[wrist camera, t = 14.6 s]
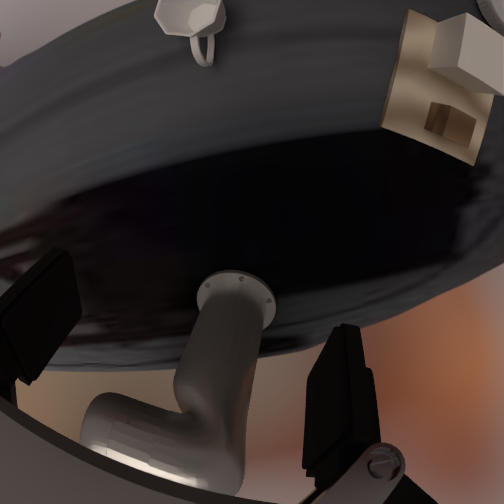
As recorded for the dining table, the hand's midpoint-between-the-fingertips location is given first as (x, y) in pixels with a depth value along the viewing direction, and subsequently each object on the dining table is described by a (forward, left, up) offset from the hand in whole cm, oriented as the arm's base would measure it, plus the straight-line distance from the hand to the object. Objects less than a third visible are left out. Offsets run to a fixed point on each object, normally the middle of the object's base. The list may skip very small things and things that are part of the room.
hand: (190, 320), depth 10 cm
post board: (+14, -19, -30) cm, 38 cm away
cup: (+13, +10, -31) cm, 35 cm away
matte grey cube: (+18, -19, -29) cm, 39 cm away
